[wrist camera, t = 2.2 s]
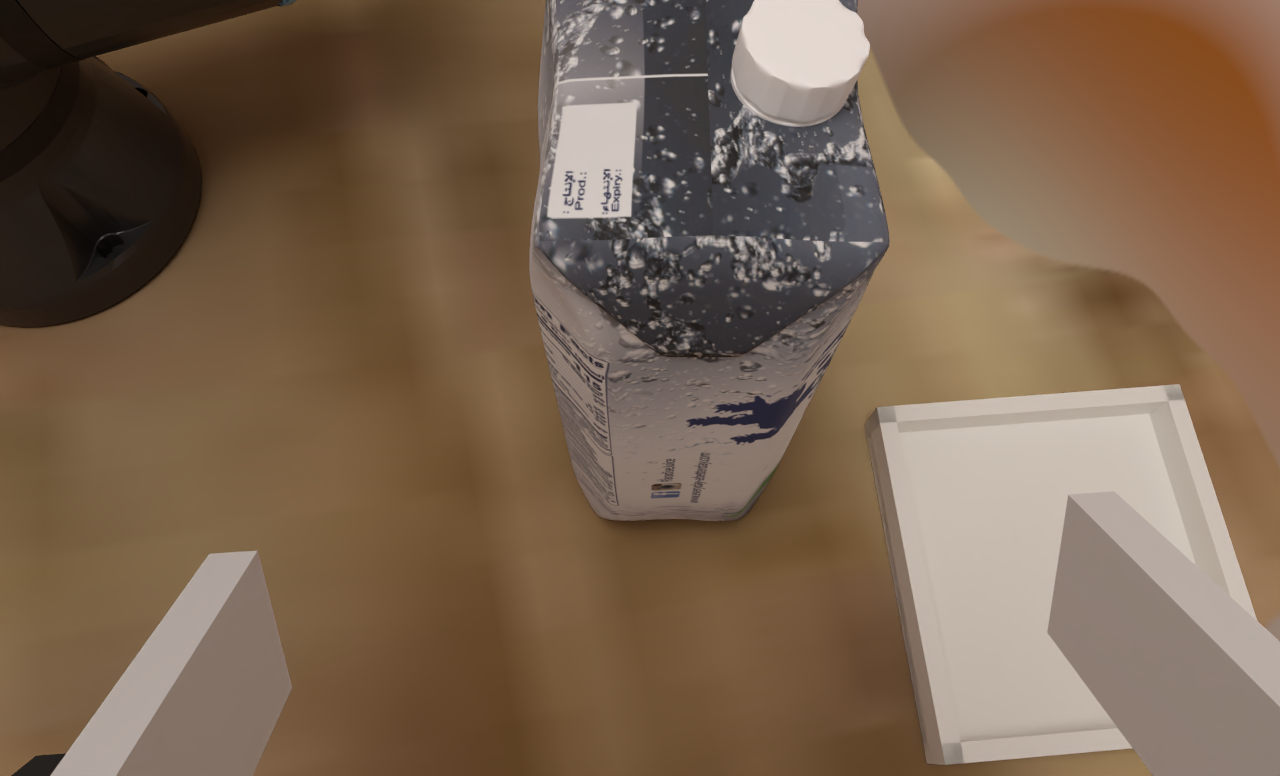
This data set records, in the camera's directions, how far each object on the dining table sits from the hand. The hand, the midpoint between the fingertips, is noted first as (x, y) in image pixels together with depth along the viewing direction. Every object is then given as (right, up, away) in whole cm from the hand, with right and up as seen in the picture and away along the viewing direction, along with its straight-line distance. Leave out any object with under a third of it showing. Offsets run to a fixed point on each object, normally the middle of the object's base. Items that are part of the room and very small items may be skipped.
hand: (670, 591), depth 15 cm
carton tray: (+19, -5, +27) cm, 33 cm away
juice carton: (+1, +1, +30) cm, 30 cm away
